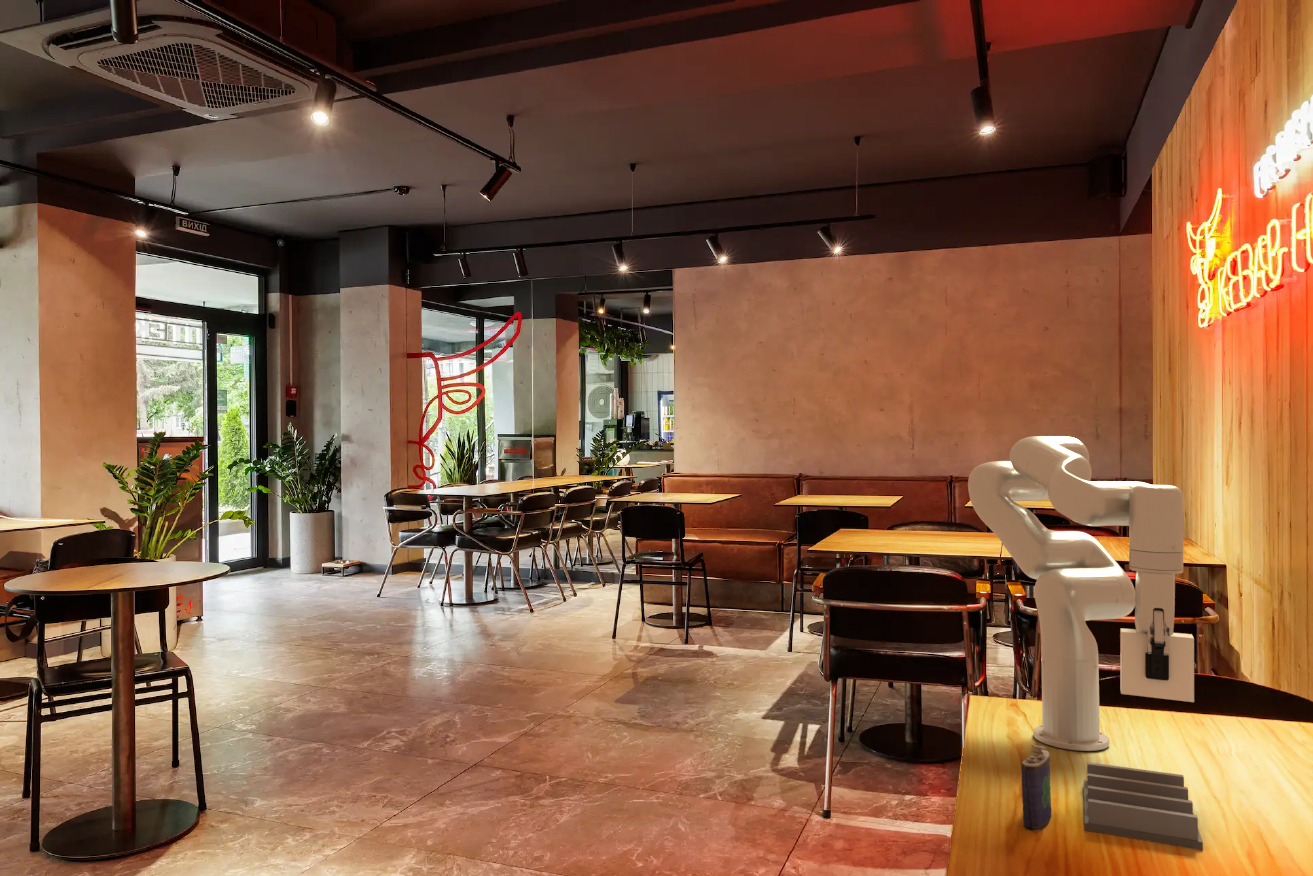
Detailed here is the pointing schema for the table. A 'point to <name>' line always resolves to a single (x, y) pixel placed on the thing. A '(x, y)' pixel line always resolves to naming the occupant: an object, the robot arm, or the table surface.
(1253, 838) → the table surface
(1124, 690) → the beige square block
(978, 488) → the robot arm
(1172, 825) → the rack
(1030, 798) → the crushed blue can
